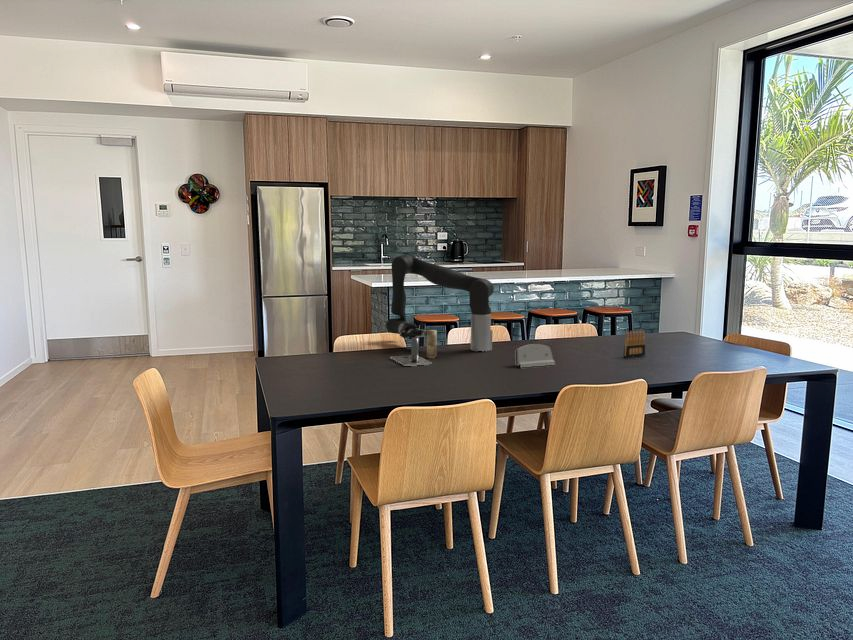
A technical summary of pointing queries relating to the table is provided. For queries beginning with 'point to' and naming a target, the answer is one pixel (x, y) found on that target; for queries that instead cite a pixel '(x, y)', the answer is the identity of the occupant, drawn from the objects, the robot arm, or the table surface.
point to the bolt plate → (408, 361)
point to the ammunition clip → (634, 344)
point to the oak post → (431, 343)
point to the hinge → (533, 356)
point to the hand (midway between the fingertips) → (421, 335)
